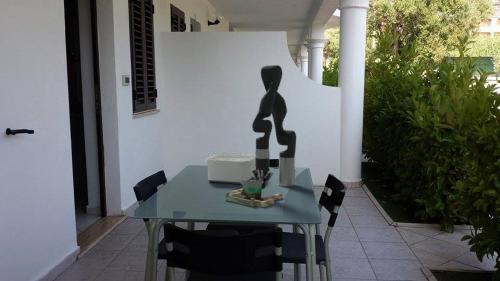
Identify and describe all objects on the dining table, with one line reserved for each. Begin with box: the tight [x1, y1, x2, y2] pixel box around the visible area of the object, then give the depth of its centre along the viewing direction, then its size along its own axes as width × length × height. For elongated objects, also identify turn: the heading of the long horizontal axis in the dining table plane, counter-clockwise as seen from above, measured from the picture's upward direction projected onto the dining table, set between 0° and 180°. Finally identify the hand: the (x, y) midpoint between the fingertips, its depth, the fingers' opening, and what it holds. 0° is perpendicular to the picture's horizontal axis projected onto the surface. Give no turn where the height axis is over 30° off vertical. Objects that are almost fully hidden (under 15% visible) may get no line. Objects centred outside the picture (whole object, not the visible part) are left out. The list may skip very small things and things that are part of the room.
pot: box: [205, 152, 256, 185], centre depth 289 cm, size 34×29×15 cm
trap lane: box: [224, 188, 283, 208], centre depth 241 cm, size 24×28×4 cm
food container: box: [240, 178, 264, 200], centre depth 241 cm, size 12×6×10 cm, turn 98°
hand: (262, 188), depth 246 cm, fingers closed
